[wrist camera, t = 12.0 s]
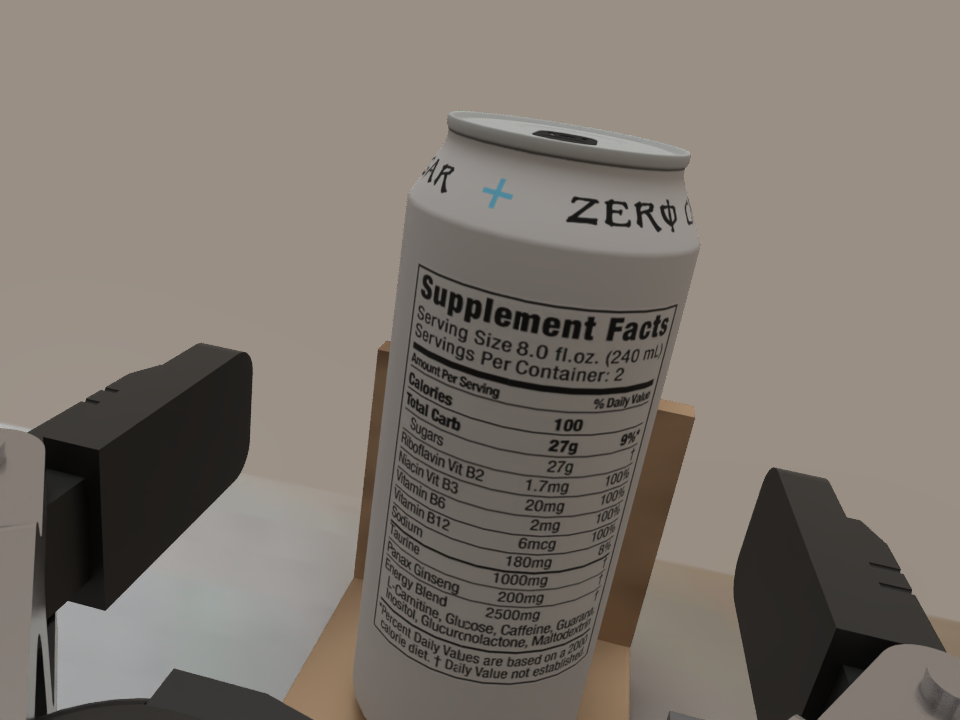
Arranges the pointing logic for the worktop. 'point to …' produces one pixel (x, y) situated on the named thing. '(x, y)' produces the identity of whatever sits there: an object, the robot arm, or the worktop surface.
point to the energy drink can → (517, 413)
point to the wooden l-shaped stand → (607, 688)
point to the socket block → (680, 716)
